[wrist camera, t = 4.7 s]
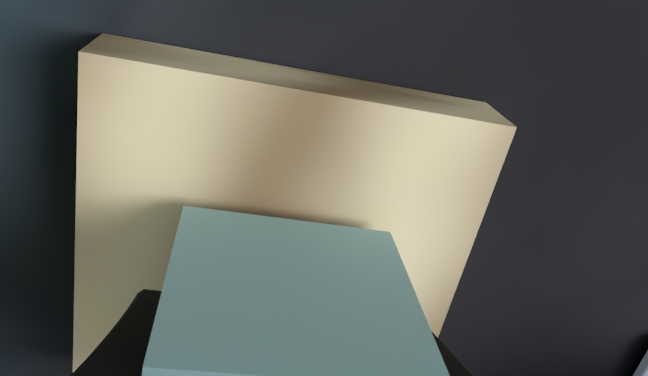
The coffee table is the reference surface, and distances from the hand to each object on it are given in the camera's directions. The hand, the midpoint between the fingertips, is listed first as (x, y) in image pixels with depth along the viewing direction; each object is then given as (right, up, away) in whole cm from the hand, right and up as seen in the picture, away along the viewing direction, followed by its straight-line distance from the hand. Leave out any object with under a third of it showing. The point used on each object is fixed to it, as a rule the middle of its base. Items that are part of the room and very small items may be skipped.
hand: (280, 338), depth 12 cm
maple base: (-1, +2, +4) cm, 4 cm away
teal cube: (0, 0, +2) cm, 2 cm away
